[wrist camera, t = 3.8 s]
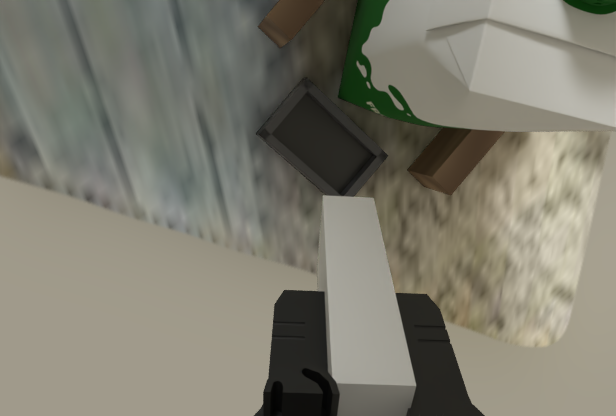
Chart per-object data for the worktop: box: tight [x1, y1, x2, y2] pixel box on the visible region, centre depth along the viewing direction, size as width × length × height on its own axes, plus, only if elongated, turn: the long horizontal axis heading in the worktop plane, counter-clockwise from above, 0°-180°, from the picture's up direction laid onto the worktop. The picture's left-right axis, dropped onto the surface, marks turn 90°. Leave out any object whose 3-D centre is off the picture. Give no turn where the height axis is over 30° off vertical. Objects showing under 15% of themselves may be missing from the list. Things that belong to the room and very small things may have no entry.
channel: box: [258, 0, 505, 195], centre depth 33 cm, size 17×11×4 cm, turn 49°
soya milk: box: [338, 0, 616, 132], centre depth 25 cm, size 9×9×20 cm
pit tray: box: [256, 78, 388, 197], centre depth 34 cm, size 8×5×2 cm, turn 49°
